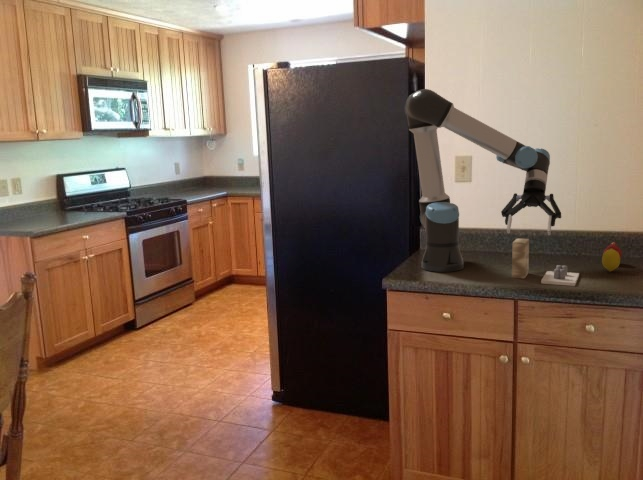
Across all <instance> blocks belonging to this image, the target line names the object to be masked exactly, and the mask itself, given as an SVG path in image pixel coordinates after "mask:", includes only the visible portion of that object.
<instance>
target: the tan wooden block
mask: <svg viewBox="0 0 643 480" xmlns="http://www.w3.org/2000/svg"><path fill="white" fill-rule="evenodd" d="M511 248H512V253H511V254H512V255H511V256H512V257H511V261H512V263H511V278H513V279H525V278H526V277H527V276H528V275H529V265H530V264H529V263H530V262H529V257H530V238H515V240H514V241H512V247H511Z"/></svg>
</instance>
